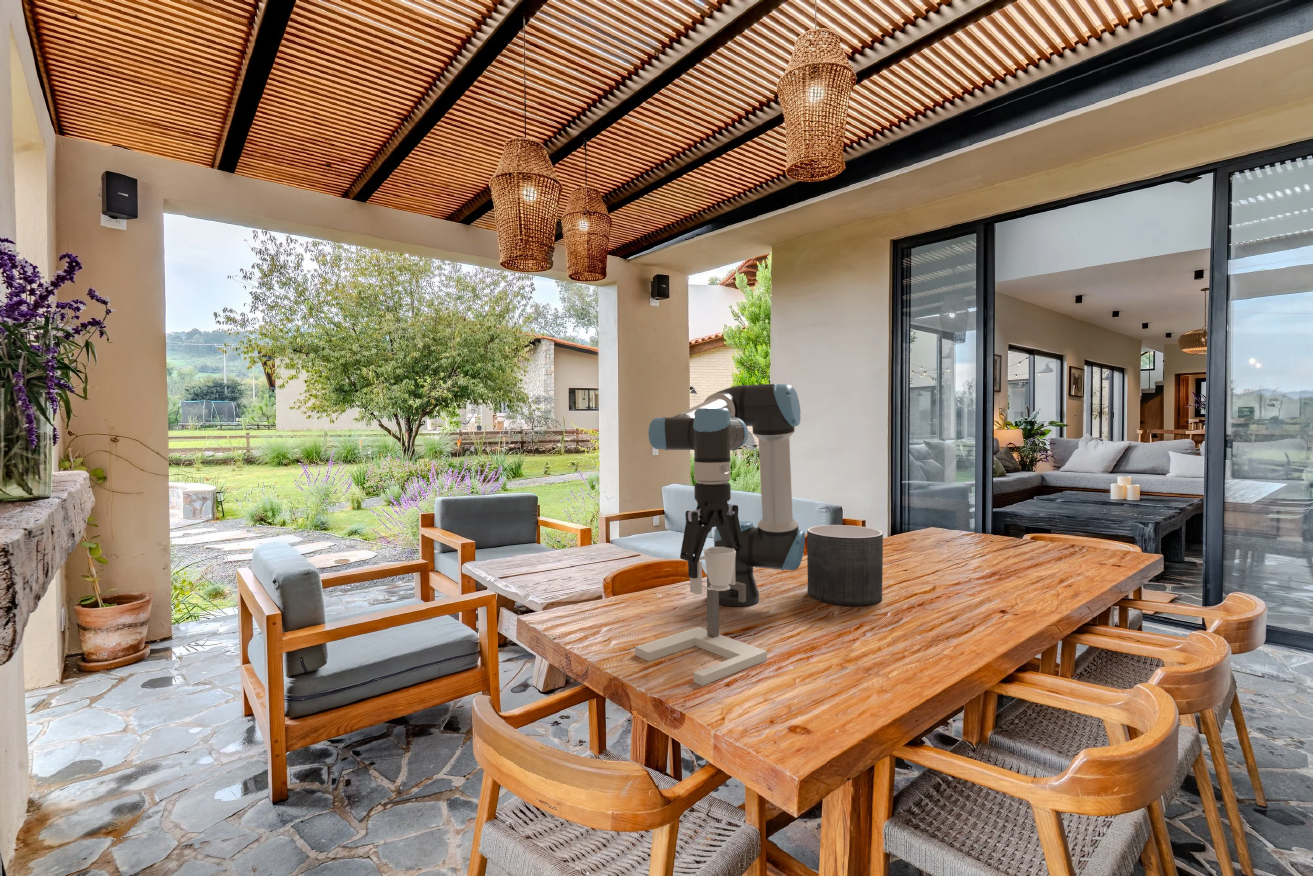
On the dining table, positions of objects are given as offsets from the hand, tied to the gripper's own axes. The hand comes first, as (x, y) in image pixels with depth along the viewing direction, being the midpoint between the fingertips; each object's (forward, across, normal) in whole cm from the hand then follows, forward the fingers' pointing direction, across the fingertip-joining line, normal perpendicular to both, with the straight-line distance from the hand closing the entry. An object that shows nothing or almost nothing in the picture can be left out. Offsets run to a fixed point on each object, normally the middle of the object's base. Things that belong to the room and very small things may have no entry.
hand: (713, 588), depth 129 cm
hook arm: (+17, +14, +9) cm, 23 cm away
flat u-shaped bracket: (+19, +5, +9) cm, 22 cm away
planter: (+20, +73, +14) cm, 77 cm away
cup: (0, 0, 0) cm, 0 cm away
